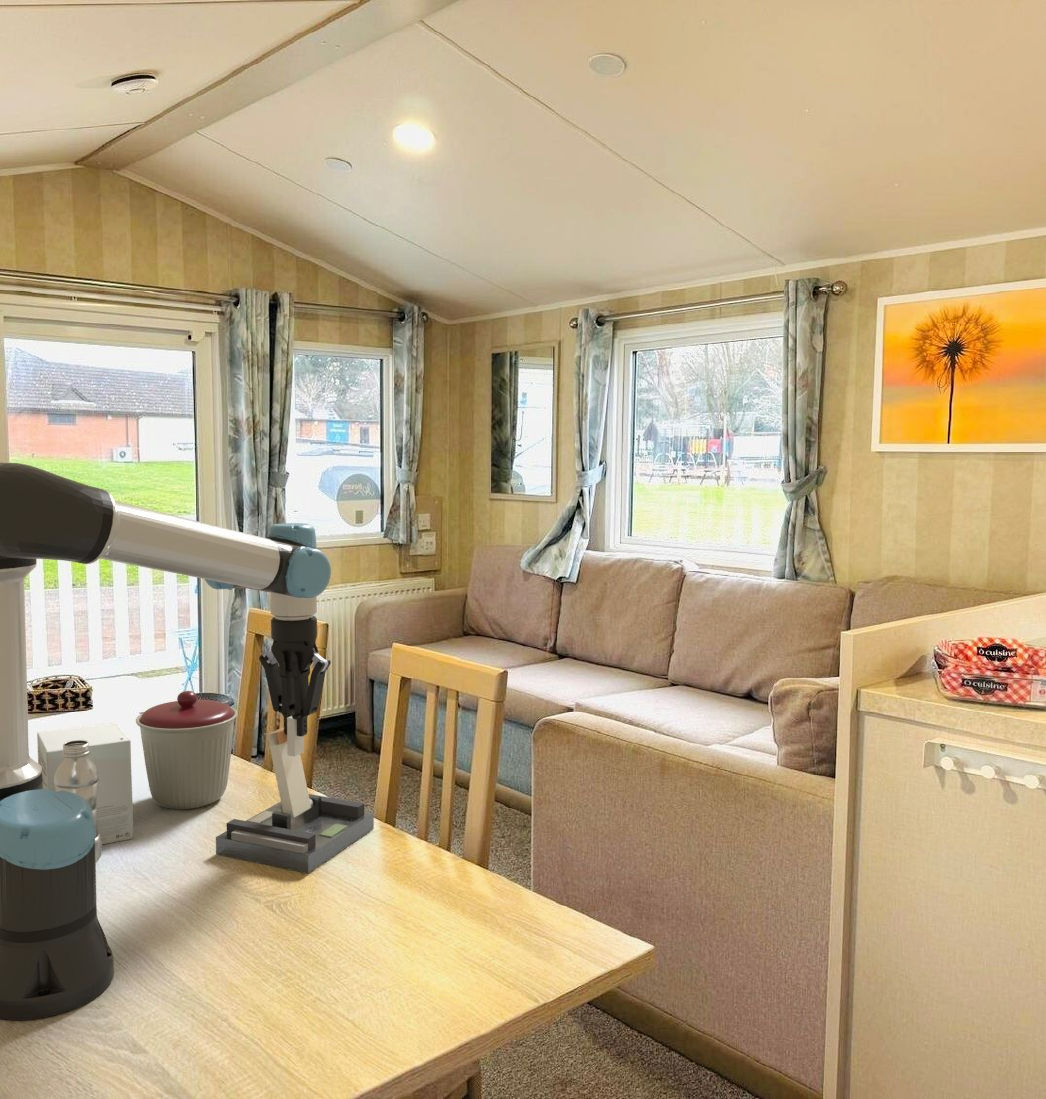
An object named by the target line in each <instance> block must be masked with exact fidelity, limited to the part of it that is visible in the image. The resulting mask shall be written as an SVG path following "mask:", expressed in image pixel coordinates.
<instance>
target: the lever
mask: <svg viewBox="0 0 1046 1099" xmlns="http://www.w3.org/2000/svg"><path fill="white" fill-rule="evenodd" d="M266 737H267V742H268V746H269V750H270V754H271V755H270V756H271V759H272V765H273V769H274V773H275V775H274V776H275V779H276V783H277V788H278V795H279V798H280V802H281V804H282V809H283V812H284V813H289V814H291V819H292V818H294V817H296V816H298V815H299V814H301V813H303V812H305V811H306V810H308V809H310V808H311V807H313V801H312V800H311V799H309V794H310V793H309V790H308V786H307V785H308V784H307V780H306V774H305V770H304V766H303V761H302V757H301V755H302V754H299V755H297V756H295V757H294V756H288V745H287V734H285V733H284V726H283V727H280V728H279V729H276V730H274V731H272V732H269V733H267V734H266Z"/></svg>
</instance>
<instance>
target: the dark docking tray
mask: <svg viewBox="0 0 1046 1099" xmlns="http://www.w3.org/2000/svg"><path fill="white" fill-rule="evenodd" d="M310 794H311V795H313V794H312V793H310ZM316 795H317V794H316ZM317 796H319V795H317ZM320 796H321V810H322V812H325V813H331V814H336V815H342V816H348V817H353V818H360V817H361V816H363V815H364V811H365V803H364V802H359V801H351V800H346V799H341V798H335V797H327V796H323V795H320ZM281 805H282V804H281ZM226 831H227V835H231V840H236V841H241V842H246V843H251V844H256V845H261V846H266V847H271V848H276V849H281V850H286V851H291V852H296V853H301V854H304V853H306V852H307V851H309V850H311V849H312V848H314V847H315V846H316V838H315V834H311V833H306V832H301V831H296V830H290V829H285V828H280V827H274V826H269V825H264V824H259V823H253V822H248V821H246V820H243V819H236V818H233V819H231V820H230V821H228V822H226Z"/></svg>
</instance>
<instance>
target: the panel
mask: <svg viewBox="0 0 1046 1099" xmlns="http://www.w3.org/2000/svg"><path fill="white" fill-rule="evenodd" d="M308 794H309V799H311V800H312V801H313V807H311V808H310V809H308V810H306V811H305V812H303V813H301V814H299V815H298V816H296V817H294V818H292V819H291V814H289V813H284V812H283V809H282V805H281V801H279V802H278V803H275V804H273V805H272V806H269V807H267V809H265V810H263V811H260V812H259V813H257V814H255V815H254V816H251V817H250V818H248V819H246V820H245V821H248V822H253V823H259V824H264V825H269V826H274V827H280V828H285V829H290V830H296V831H301V832H306V833H311V834H315V838H316V846H315V847H314V848H312V849H311V850H309V851H307V852H306V853H304V854H301V853H296V852H291V851H286V850H281V849H276V848H271V847H266V846H261V845H256V844H251V843H246V842H241V841H236V840H231V835H227V830H225V832H222V833H221V834H219V835H217V836H215V854H216V855H217V856H221V857H227V858H230V859H236V860H241V861H245V862H249V863H256V864H261V865H264V866H270V867H274V868H279V869H284V870H287V871H288V870H289V871H294V872H299V873H303V874H307V875H308V874H310V873H312V872H314V871H315V870H316V869H318V868H319V867H320V866H322V865H324V863H326V862H328V861H329V860H331V859H332V858H334V857H335V856H336V855H338V854H340V853H341V852H342V851H344V850H345V849H347V848H349V846H351V845H352V844H354V843H355V842H357V841H358V840H359V839H361V838H362V837H364V836H366V835H367V834H369V833H370V832H371V831H372V830H374V828H375V824H374V823H375V821H374V820H375V819H374V811H369V810H368V811H367V810H364V815H363V816H361V817H360V818H353V817H348V816H342V815H336V814H331V813H325V812H322V810H321V796H322V795H318V796H317V794H312V793H308ZM311 794H312V795H311Z"/></svg>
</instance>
